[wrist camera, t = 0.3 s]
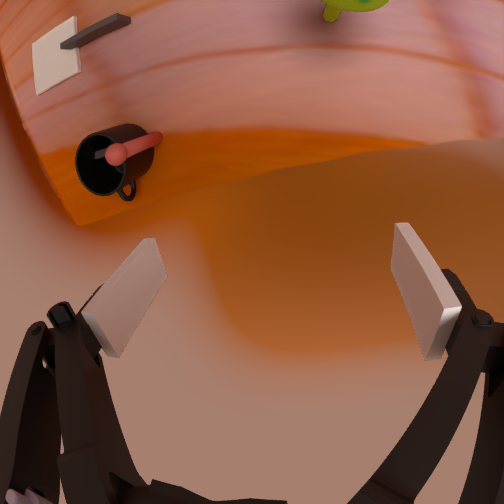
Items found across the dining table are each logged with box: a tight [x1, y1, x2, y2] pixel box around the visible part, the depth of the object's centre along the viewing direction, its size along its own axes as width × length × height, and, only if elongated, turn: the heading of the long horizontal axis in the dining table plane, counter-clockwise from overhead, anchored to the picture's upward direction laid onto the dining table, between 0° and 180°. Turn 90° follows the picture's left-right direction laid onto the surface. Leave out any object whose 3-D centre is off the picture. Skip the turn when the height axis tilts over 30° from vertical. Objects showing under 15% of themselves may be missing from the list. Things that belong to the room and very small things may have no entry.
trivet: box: [32, 16, 82, 96], centre depth 33 cm, size 12×12×1 cm
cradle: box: [60, 13, 163, 166], centre depth 31 cm, size 23×15×13 cm, turn 7°
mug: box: [75, 124, 154, 201], centre depth 40 cm, size 9×12×9 cm
